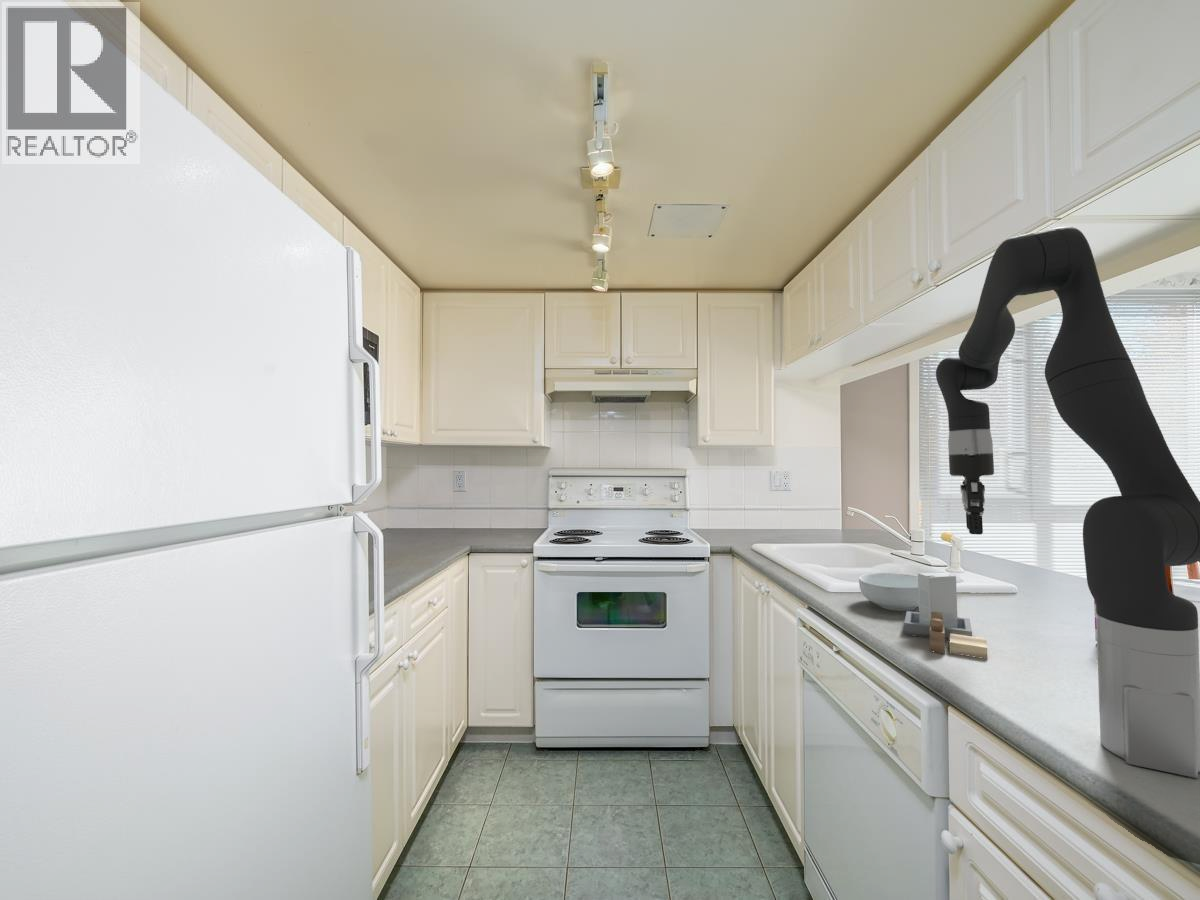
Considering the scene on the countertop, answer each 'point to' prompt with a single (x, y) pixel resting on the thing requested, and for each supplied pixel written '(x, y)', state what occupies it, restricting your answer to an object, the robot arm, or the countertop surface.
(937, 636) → the stop bar
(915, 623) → the tray
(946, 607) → the skincare box
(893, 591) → the cereal bowl
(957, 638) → the tan block
